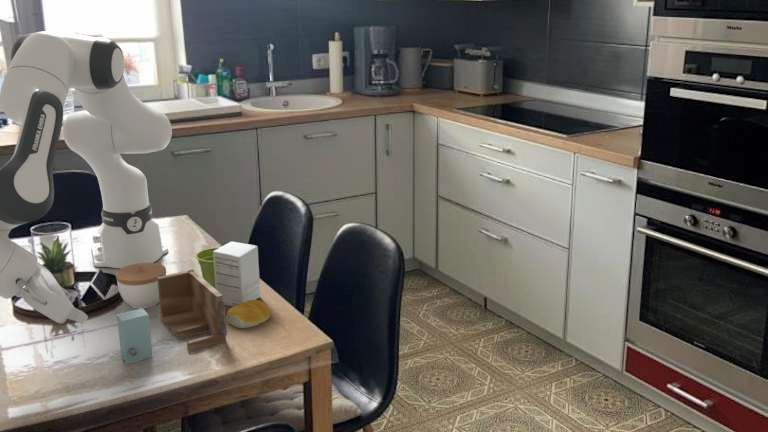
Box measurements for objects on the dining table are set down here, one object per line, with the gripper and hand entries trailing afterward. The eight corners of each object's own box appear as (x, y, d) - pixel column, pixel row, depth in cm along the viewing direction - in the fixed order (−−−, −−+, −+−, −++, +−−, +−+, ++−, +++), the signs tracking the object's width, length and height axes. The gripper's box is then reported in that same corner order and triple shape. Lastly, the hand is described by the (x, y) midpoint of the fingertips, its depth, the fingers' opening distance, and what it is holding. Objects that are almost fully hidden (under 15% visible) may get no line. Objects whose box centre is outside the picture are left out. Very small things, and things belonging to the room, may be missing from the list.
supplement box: (234, 291, 180) (231, 240, 175) (261, 297, 177) (259, 245, 173) (215, 303, 173) (211, 250, 169) (242, 309, 170) (239, 256, 166)
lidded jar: (154, 289, 181) (150, 252, 178) (178, 303, 174) (174, 264, 171) (110, 303, 174) (106, 264, 171) (134, 317, 167) (129, 277, 164)
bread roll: (277, 317, 167) (276, 300, 166) (247, 332, 160) (246, 315, 159) (249, 307, 172) (248, 291, 170) (219, 322, 165) (218, 305, 164)
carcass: (161, 320, 165) (157, 277, 162) (196, 311, 169) (192, 269, 166) (191, 353, 151) (187, 306, 148) (228, 342, 155) (225, 297, 152)
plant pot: (230, 278, 187) (227, 244, 185) (245, 290, 180) (243, 255, 177) (192, 286, 183) (189, 251, 180) (207, 299, 175) (204, 264, 172)
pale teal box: (121, 356, 150) (116, 314, 147) (147, 349, 153) (142, 308, 150) (128, 366, 146) (123, 323, 144) (154, 359, 149) (150, 316, 146)
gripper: (36, 276, 125) (104, 316, 134) (13, 240, 141) (76, 278, 150) (10, 308, 124) (81, 346, 133) (-9, 268, 141) (55, 304, 149)
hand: (78, 310), depth 141 cm, fingers open, 8 cm apart
